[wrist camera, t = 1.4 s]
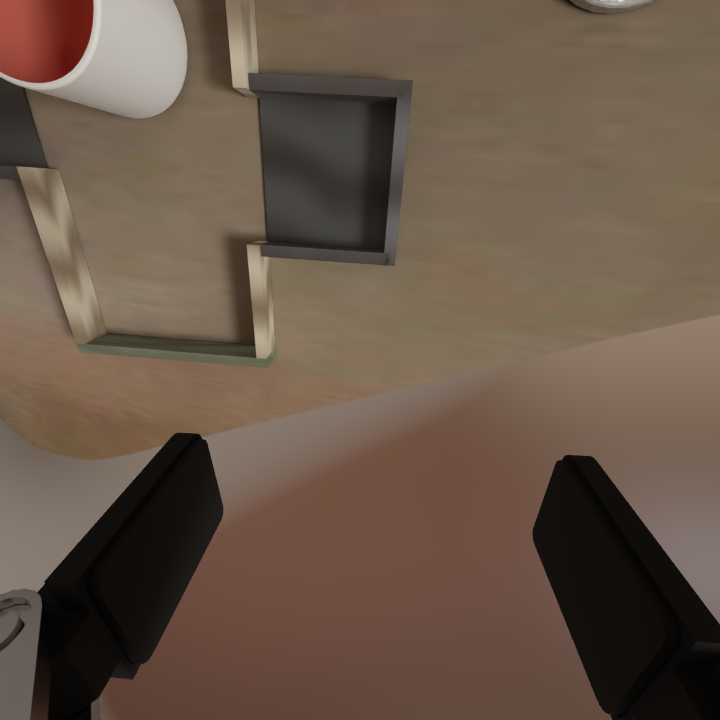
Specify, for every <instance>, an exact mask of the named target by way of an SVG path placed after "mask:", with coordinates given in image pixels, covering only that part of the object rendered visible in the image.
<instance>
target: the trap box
mask: <svg viewBox="0 0 720 720" xmlns="http://www.w3.org/2000/svg"><path fill="white" fill-rule="evenodd" d="M225 2H226V14H227V25H228V37H229V48H230V59H231V71H232V82H233V88H235V89H236V90H238V91H239V92H240V93H242V94H243V95H245V96H246V97H248V98H259V101H260V117H261V134H262V150H263V167H264V183H265V199H266V216H267V232H268V241H256V242H253V243H250V244H247V254H248V266H249V277H250V289H251V300H252V311H253V323H254V334H255V345H244V344H232V343H219V342H207V341H194V340H182V339H170V338H157V337H145V336H133V335H120V334H108V333H107V332H106V329H105V325H104V322H103V319H102V315H101V312H100V308H99V305H98V301H97V298H96V295H95V291H94V288H93V284H92V281H91V277H90V274H89V271H88V267H87V264H86V260H85V257H84V253H83V250H82V247H81V243H80V240H79V236H78V233H77V229H76V226H75V223H74V219H73V216H72V212H71V209H70V205H69V202H68V199H67V195H66V192H65V188H64V185H63V181H62V178H61V175H60V171H59V169H48V166H47V162H46V159H45V156H44V153H43V149H42V146H41V143H40V139H39V136H38V133H37V129H36V126H35V123H34V120H33V116H32V113H31V110H30V106H29V103H28V100H27V97H26V93H25V90H24V87H21V86H18V85H15V84H13V83H11V82H8V81H7V80H5V79H3V78H1V77H0V179H15V180H21V182H22V185H23V188H24V191H25V194H26V197H27V200H28V202H29V205H30V208H31V211H32V214H33V217H34V220H35V223H36V226H37V229H38V232H39V235H40V238H41V241H42V244H43V247H44V250H45V253H46V256H47V259H48V262H49V264H50V267H51V270H52V273H53V276H54V279H55V282H56V285H57V288H58V291H59V294H60V297H61V300H62V303H63V306H64V309H65V312H66V315H67V318H68V321H69V323H70V326H71V329H72V332H73V335H74V338H75V341H76V344H77V347H78V350H79V352H85V353H97V354H109V355H121V356H133V357H145V358H157V359H169V360H181V361H193V362H205V363H217V364H229V365H241V366H253V367H265V368H267V367H268V365H269V364H270V363H271V361H272V360H273V358H274V357H275V338H274V321H273V305H272V288H271V271H270V257H276V258H291V259H305V260H319V261H333V262H348V263H362V264H376V265H391V266H395V257H396V246H397V236H398V226H399V216H400V205H401V195H402V185H403V175H404V165H405V154H406V144H407V134H408V124H409V113H410V103H411V93H412V83H413V81H410V80H389V79H368V78H347V77H326V76H305V75H284V74H263V73H259V71H258V54H257V37H256V21H255V4H254V0H225Z"/></svg>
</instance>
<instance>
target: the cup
mask: <svg viewBox="0 0 720 720" xmlns="http://www.w3.org/2000/svg"><path fill="white" fill-rule="evenodd" d="M186 70H187V44H186V37H185V33H184V28H183V24H182V21H181V18H180V15H179V13H178V10H177V8H176V5H175V3H174V1H173V0H0V77H1V78H3V79H5V80H7V81H8V82H11V83H13V84H15V85H18V86H21V87H24V88H27V89H31V90H34V91H38V92H41V93H44V94H48V95H51V96H55V97H58V98H62V99H65V100H68V101H72V102H75V103H79V104H82V105H86V106H89V107H93V108H96V109H99V110H103V111H106V112H110V113H113V114H117V115H120V116H124V117H128V118H140V119H141V118H149V117H152V116H155V115H158V114H160V113H162V112H163V111H165V110H166V109H167V108H168V107H170V106H171V105H172V103H173V102H174V101H175V99H176V98H177V97H178V95H179V93H180V91H181V89H182V86H183V83H184V80H185V76H186Z"/></svg>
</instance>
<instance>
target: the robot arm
mask: <svg viewBox="0 0 720 720" xmlns="http://www.w3.org/2000/svg"><path fill="white" fill-rule="evenodd" d="M570 1H571V2H573V3H574V4H575V5H577V6H578V7H581V8H583V9H586V10H589V11H591V12H595V13H605V14H615V13H622V12H629V11H632V10H635V9H637V8H640V7H643V6H645V5H648V4H650V3H652V2H653V1H655V0H570ZM222 516H223V504H222V500H221V496H220V492H219V488H218V484H217V480H216V476H215V472H214V468H213V464H212V460H211V456H210V452H209V448H208V444H207V442H206V440H203V439H202V438H201V436H200V435H199V434H192V433H176V434H174V435H173V436H172V437H171V438H170V439H169V441H168V442H167V443H166V444H165V445H164V446H163V447H162V449H161V450H160V451H159V452H158V453H157V454H156V455H155V456H154V458H153V459H152V460H151V461H150V462H149V463H148V464H147V466H146V467H145V468H144V469H143V470H142V472H141V473H140V474H139V475H138V476H137V477H136V478H135V479H134V480H133V481H132V483H131V484H130V485H129V486H128V487H127V488H126V489H125V491H124V492H123V493H122V494H121V495H120V496H119V497H118V499H117V500H116V501H115V502H114V503H113V504H112V505H111V506H110V508H109V509H108V510H107V511H106V512H105V513H104V515H103V516H102V517H101V518H100V519H99V520H98V521H97V523H95V525H94V526H93V527H92V528H91V529H90V530H89V532H88V533H87V534H86V535H85V536H84V537H83V538H82V539H81V541H80V542H79V543H78V544H77V545H76V546H75V547H74V549H73V550H72V551H71V552H70V553H69V554H68V555H67V556H66V558H65V559H64V560H63V561H62V562H61V563H60V564H59V566H58V567H57V568H56V569H55V570H54V571H53V572H52V573H51V575H50V576H49V577H48V578H47V579H46V580H45V584H44V586H43V587H42V588H41V589H40V590H39V591H38V592H36V591H34V590H29V589H20V590H12V591H9V592H7V593H4V594H1V595H0V720H101V708H100V707H101V706H100V695H101V693H102V691H103V689H104V687H105V686H106V684H107V682H108V681H109V679H110V677H114V678H124V679H133V678H134V677H135V675H136V673H137V671H138V669H139V667H140V665H141V664H144V663H146V662H147V661H148V660H149V659H150V657H151V656H152V654H153V652H154V650H155V649H156V646H157V645H158V643H159V641H160V639H161V637H162V635H163V633H164V631H165V629H166V627H167V625H168V623H169V621H170V619H171V617H172V615H173V613H174V611H175V609H176V607H177V605H178V603H179V602H180V600H181V598H182V596H183V594H184V592H185V590H186V588H187V586H188V584H189V582H190V580H191V578H192V576H193V574H194V572H195V570H196V568H197V566H198V564H199V562H200V560H201V558H202V556H203V555H204V553H205V551H206V549H207V547H208V545H209V543H210V541H211V539H212V537H213V535H214V533H215V531H216V529H217V527H218V525H219V523H220V521H221V519H222ZM533 541H534V544H535V547H536V549H537V552H538V554H539V557H540V559H541V562H542V564H543V567H544V569H545V572H546V574H547V577H548V579H549V582H550V584H551V586H552V589H553V592H554V594H555V597H556V599H557V602H558V604H559V606H560V609H561V612H562V614H563V616H564V619H565V621H566V624H567V626H568V629H569V631H570V634H571V636H572V639H573V641H574V644H575V646H576V649H577V651H578V654H579V656H580V659H581V661H582V664H583V666H584V669H585V671H586V674H587V676H588V678H589V681H590V683H591V686H592V688H593V691H594V693H595V696H596V698H597V700H598V702H599V705H600V706H601V708H602V709H603V710H604V712H606V713H608V714H610V715H611V717H612V720H720V624H719V623H718V622H717V620H716V619H715V618H714V616H713V615H712V614H711V612H710V611H709V610H708V608H707V607H706V606H705V605H704V603H703V602H702V601H701V599H700V598H699V596H698V595H697V594H696V592H695V591H694V590H693V588H692V587H691V586H690V584H689V583H688V582H687V580H686V579H685V578H684V576H683V575H682V574H681V572H680V571H679V570H678V568H677V567H676V566H675V564H674V563H673V562H672V561H671V559H670V558H669V556H668V555H667V554H666V552H665V551H664V550H663V549H662V547H661V546H660V545H659V543H658V542H657V540H656V539H655V538H654V537H653V535H652V534H651V533H650V531H649V530H648V529H647V527H646V526H645V525H644V523H643V522H642V521H641V519H640V518H639V517H638V515H637V514H636V513H635V511H634V510H633V509H632V507H631V506H630V505H629V503H628V502H627V501H626V499H625V498H624V497H623V495H622V494H621V493H620V491H619V490H618V489H617V488H616V486H615V485H614V483H613V482H612V481H611V479H610V478H609V477H608V475H606V473H605V471H604V470H603V469H602V467H601V466H600V465H599V464H598V462H597V461H596V460H595V459H594V458H593V457H591V456H578V455H566V456H564V457H563V459H562V460H558V461H557V462H556V464H555V467H554V470H553V473H552V476H551V479H550V482H549V484H548V487H547V490H546V493H545V496H544V499H543V502H542V505H541V507H540V511H539V514H538V516H537V519H536V522H535V525H534V528H533Z"/></svg>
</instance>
